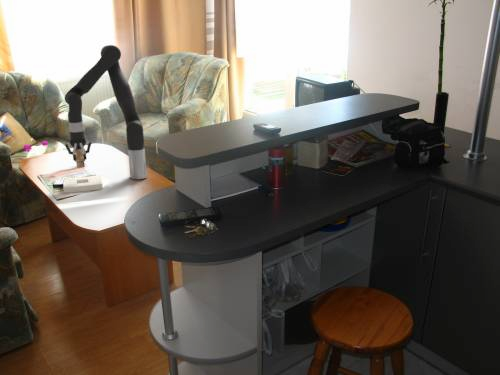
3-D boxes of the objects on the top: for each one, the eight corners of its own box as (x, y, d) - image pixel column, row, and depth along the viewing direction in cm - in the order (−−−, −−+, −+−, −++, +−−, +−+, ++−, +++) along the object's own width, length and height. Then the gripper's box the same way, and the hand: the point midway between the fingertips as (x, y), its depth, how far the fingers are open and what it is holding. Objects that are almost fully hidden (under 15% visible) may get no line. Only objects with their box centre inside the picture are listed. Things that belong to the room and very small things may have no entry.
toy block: (29, 157, 330) (27, 146, 327) (25, 156, 334) (23, 145, 331) (50, 153, 340) (49, 142, 338) (46, 151, 344) (45, 141, 342)
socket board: (100, 180, 285) (100, 175, 284) (102, 189, 271) (102, 183, 270) (64, 183, 279) (63, 178, 278) (64, 193, 265) (63, 187, 264)
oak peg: (84, 165, 274) (82, 147, 270) (84, 167, 270) (82, 149, 267) (76, 165, 273) (74, 148, 269) (76, 167, 269) (74, 150, 266)
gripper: (90, 127, 270) (93, 157, 276) (62, 129, 266) (66, 160, 271) (90, 130, 263) (94, 161, 269) (62, 132, 259) (66, 163, 265)
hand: (80, 160), depth 270 cm, fingers closed on oak peg, 4 cm apart
